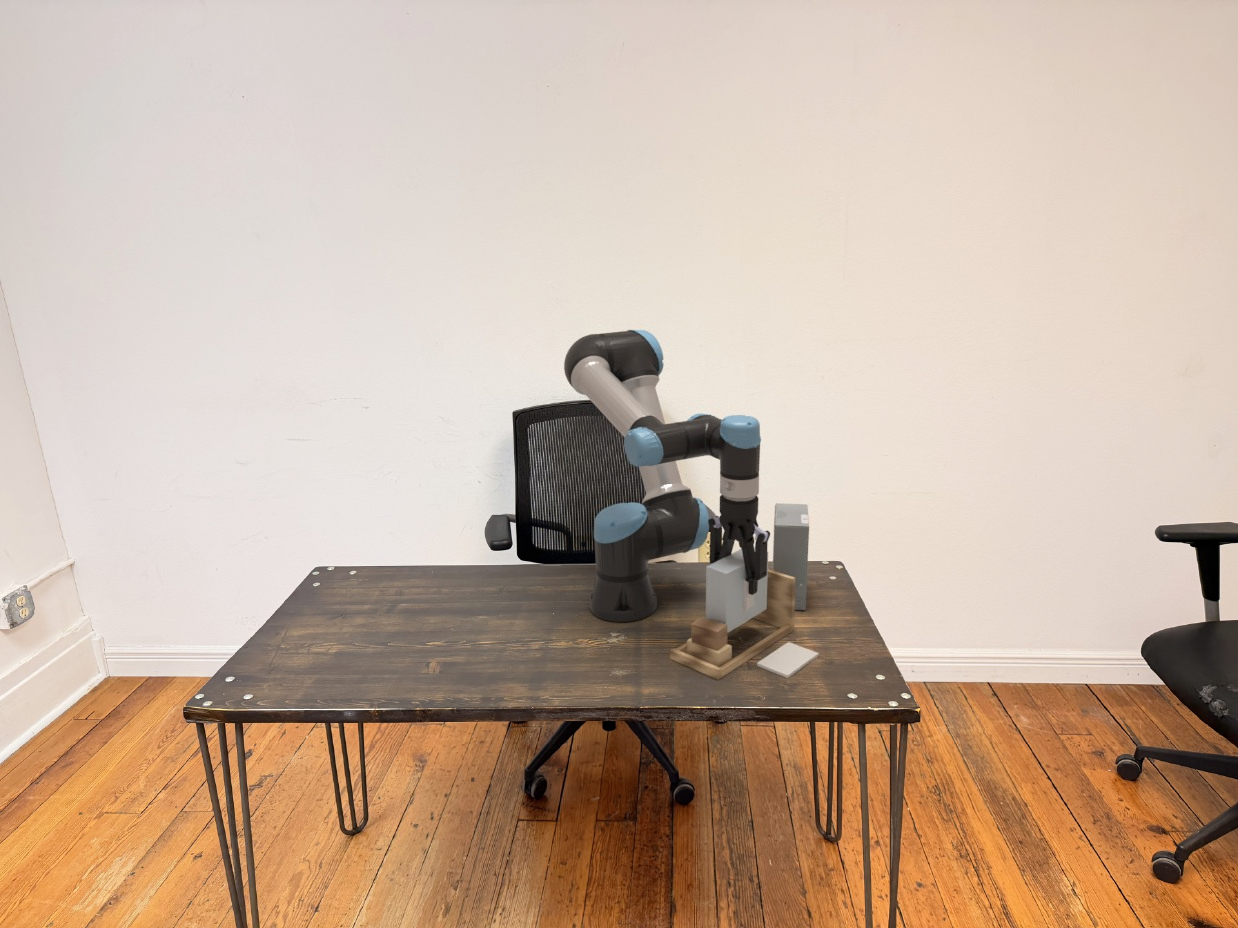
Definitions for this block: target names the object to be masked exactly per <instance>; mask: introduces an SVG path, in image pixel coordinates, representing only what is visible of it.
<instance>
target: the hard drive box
mask: <svg viewBox="0 0 1238 928" xmlns="http://www.w3.org/2000/svg"><path fill="white" fill-rule="evenodd" d="M809 539H810V519H809V506H808V504H804V503H803V504H802V503H799V504H798V503H777V502H776V503H775V505H774V520H773V541H772V543H773V546H772V547H773V549H772V571H775V572H779V573H782V574H785V575H788V576H792V577H795V611H806V609H807V589H808V565H809V563H808V562H809V561H808V559H809Z"/></svg>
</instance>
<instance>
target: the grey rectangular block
mask: <svg viewBox="0 0 1238 928" xmlns="http://www.w3.org/2000/svg"><path fill="white" fill-rule="evenodd" d="M754 550H755V546H754ZM705 568H706V569H705V618H706V619H710V620H713V621H716V622H720V623H723V624H726V625H727V634H729V633H730V632H732V631H733V630H735V629H736V628H738V627H740V626H742V625H743V624H745V623H747V622H748V621H750V620H751V619H754V618H753V617H754V616H756V615H758V614H759V613H761V612H763V611H764V610H766V609H767V579H768V569H769V551H768V550H767V576H765V577H764V578H762V579H760V580H758V588H757V593H755V594H754V606H752V607H750V608H749V609H747V610H745V609H743V591H744V579H745V578H747V574H746V569H745V564H744V559H743V554H742V549H741V548H740V549H738V550H737V551H735V552H732V553H731V554H730V555H728V556H726V557H724V558H722V559H720V560H718V561H717V562H715V563H713V564H709V565H707V566H706V567H705Z"/></svg>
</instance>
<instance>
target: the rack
mask: <svg viewBox="0 0 1238 928" xmlns="http://www.w3.org/2000/svg"><path fill="white" fill-rule="evenodd" d="M795 612H796V610H795V577H792V576H788V575H785V574H782V573H779V572H775V571H773V569H769V568H768V579H767V609H766V610H764V611H763V612H761V613H759V614H758V615H756V616H754V617H753V618H752V619H756V620H758V621H760V622H763V623H766V624H769V625H772V626H774V627H778V630H776V631H774V632H772V633H771V634H769V635H767V636H766V637H765V638H763V639H761V640H760V641H758V642H757V643H754V644H753V646H751V647H749V648H748V649H746V650H745V651H743V652H741V653H740V654H739V655H736V656H735V657H733V658H732V660H731V661H729V662H727V663H726V664H724V665H723V666H721V667H720V668H719V667H717V666H714V665H712V664H710V663H707V662H705V661H703V660H700V659H698V658H696V657H693V656H691V655H689V654H687V641H686V642H685V643H683V644H682V645H680V646H678V647H677V648H674V647H672V648H671V649H669V659H670V660H672V661H674V662H677V663H679V664H681V665H683V666H685V667H688V668H690V669H692V670H695V671H697V672H699V673H701V674H704V675H706V676H708V677H710V678H713V679H715V680H717V681H718V680H721V679H722V678H724V676H727V675H728V674H729V673H731V672H733V671H734V670H736V669H737V668H739V667H741V666H742V665H743V664H745V663H746V662H748V661H749V660H751V659H752V658H754V657H756V656H757V655H758V654H760V653H762V652H763V651H765V650H766V649H768V648H770V647H771V646H772V645H774V644H775V643H776V642H778V641H780V640H781V639H783V638H785V637H786V636H788V635H789V634H790V633H792V632H793V631H795Z"/></svg>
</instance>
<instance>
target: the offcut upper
mask: <svg viewBox="0 0 1238 928" xmlns="http://www.w3.org/2000/svg"><path fill="white" fill-rule="evenodd" d="M690 626H691V628H690V629H691V633H690V634H691V637H690V638H691V640H692V643H695V644H698V645H701V646H704V647H707V648H711V649H714V650H717V651H718V650H720V649H721V648H722V647H723V646H725V645H726V644H728V633H727V625H726V624H723V623H720V622H716V621H713V620H710V619H706V617H702V616H701V617H699V618H697V619H696V620H695V621H692V623H691V625H690Z"/></svg>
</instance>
